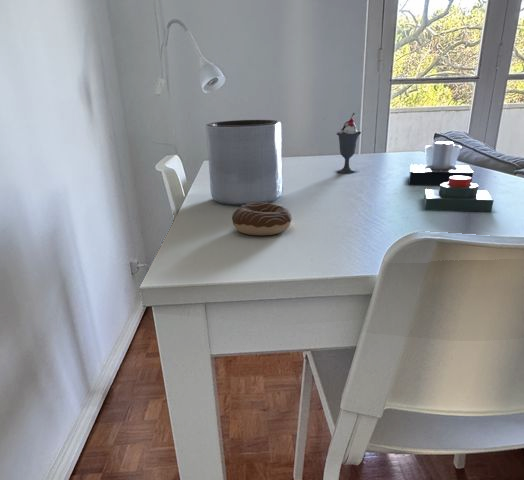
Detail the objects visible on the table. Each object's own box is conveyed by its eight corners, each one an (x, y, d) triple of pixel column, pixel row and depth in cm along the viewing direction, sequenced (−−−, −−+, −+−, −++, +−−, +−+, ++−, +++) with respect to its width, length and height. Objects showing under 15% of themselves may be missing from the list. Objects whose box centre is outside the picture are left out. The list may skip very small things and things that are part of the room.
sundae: (353, 174, 129) (357, 113, 122) (330, 172, 132) (333, 113, 125) (362, 170, 134) (366, 111, 126) (340, 169, 137) (343, 111, 130)
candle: (415, 171, 130) (418, 146, 127) (440, 168, 133) (443, 143, 130) (438, 175, 123) (442, 149, 120) (464, 172, 126) (469, 146, 123)
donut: (239, 221, 89) (238, 199, 87) (295, 222, 87) (295, 200, 85) (225, 237, 80) (224, 213, 78) (287, 239, 78) (287, 214, 76)
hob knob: (431, 166, 117) (434, 140, 114) (449, 167, 116) (453, 140, 113) (431, 169, 114) (435, 142, 111) (449, 169, 113) (454, 142, 110)
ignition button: (468, 185, 94) (470, 175, 93) (470, 189, 90) (472, 179, 89) (447, 184, 95) (448, 175, 94) (448, 188, 91) (450, 179, 90)
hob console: (466, 178, 119) (468, 164, 117) (470, 185, 110) (473, 171, 109) (409, 177, 122) (410, 164, 121) (409, 184, 114) (410, 171, 112)
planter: (207, 208, 99) (200, 126, 91) (215, 192, 113) (209, 121, 105) (283, 206, 98) (283, 124, 91) (281, 190, 112) (281, 118, 105)
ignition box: (484, 201, 96) (488, 181, 94) (491, 211, 89) (495, 190, 87) (423, 200, 99) (426, 180, 97) (424, 210, 92) (427, 188, 90)
